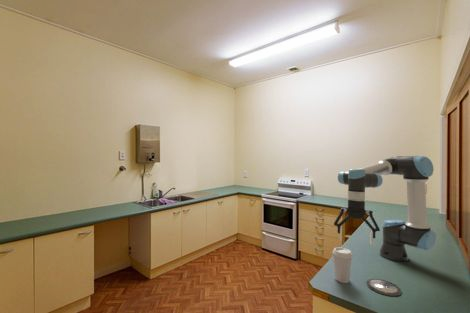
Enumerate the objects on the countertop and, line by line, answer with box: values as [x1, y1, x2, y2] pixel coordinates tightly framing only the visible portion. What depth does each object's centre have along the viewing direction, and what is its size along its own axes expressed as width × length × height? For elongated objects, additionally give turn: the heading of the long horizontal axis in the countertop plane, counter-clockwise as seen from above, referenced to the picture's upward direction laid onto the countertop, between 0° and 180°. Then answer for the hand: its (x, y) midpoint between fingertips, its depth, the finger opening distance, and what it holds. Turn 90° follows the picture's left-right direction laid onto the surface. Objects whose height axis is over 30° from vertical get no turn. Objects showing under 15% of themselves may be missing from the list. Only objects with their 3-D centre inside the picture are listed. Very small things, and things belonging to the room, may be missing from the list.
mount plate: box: [366, 278, 402, 297], centre depth 109 cm, size 14×14×1 cm
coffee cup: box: [331, 246, 354, 284], centre depth 116 cm, size 10×10×15 cm
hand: (355, 242), depth 113 cm, fingers open, 13 cm apart
